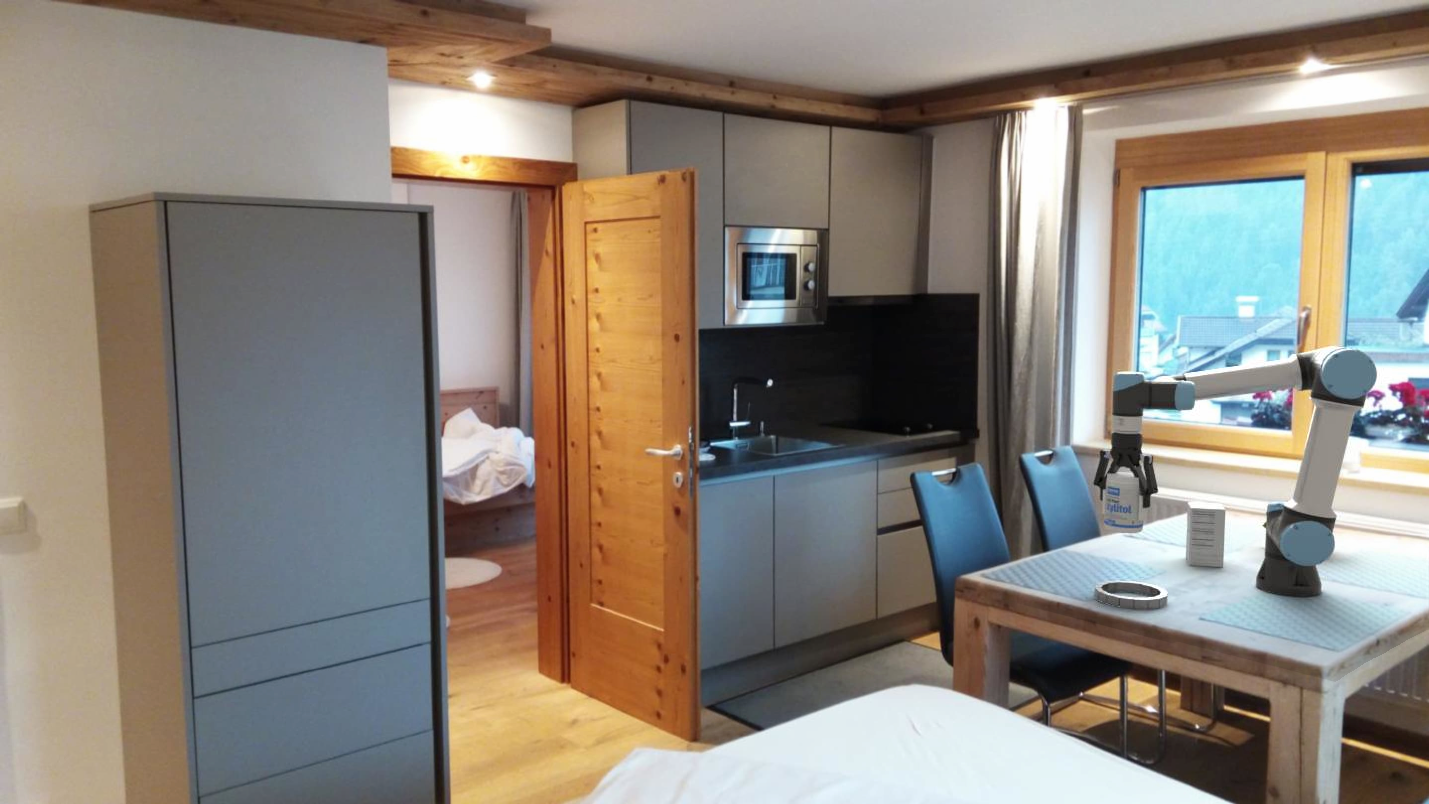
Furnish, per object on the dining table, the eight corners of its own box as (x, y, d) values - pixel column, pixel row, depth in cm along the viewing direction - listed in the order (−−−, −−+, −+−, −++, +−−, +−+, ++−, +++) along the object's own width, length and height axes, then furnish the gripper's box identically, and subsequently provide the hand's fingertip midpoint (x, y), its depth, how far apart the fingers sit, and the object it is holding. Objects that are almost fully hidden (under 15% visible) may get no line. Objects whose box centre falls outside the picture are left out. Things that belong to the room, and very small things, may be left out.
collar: (1179, 600, 267) (1179, 590, 267) (1145, 613, 256) (1145, 603, 256) (1117, 586, 280) (1117, 577, 280) (1082, 598, 269) (1082, 588, 269)
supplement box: (1223, 568, 298) (1226, 509, 296) (1188, 565, 301) (1190, 507, 299) (1219, 560, 307) (1221, 503, 305) (1185, 557, 310) (1187, 501, 308)
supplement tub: (1101, 532, 273) (1103, 476, 272) (1106, 524, 281) (1107, 470, 280) (1142, 535, 269) (1144, 478, 267) (1145, 528, 277) (1147, 473, 276)
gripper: (1080, 428, 279) (1078, 511, 281) (1159, 437, 261) (1156, 525, 264) (1096, 426, 283) (1094, 508, 286) (1175, 434, 266) (1172, 521, 268)
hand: (1124, 516), depth 275 cm, fingers closed on supplement tub, 10 cm apart
